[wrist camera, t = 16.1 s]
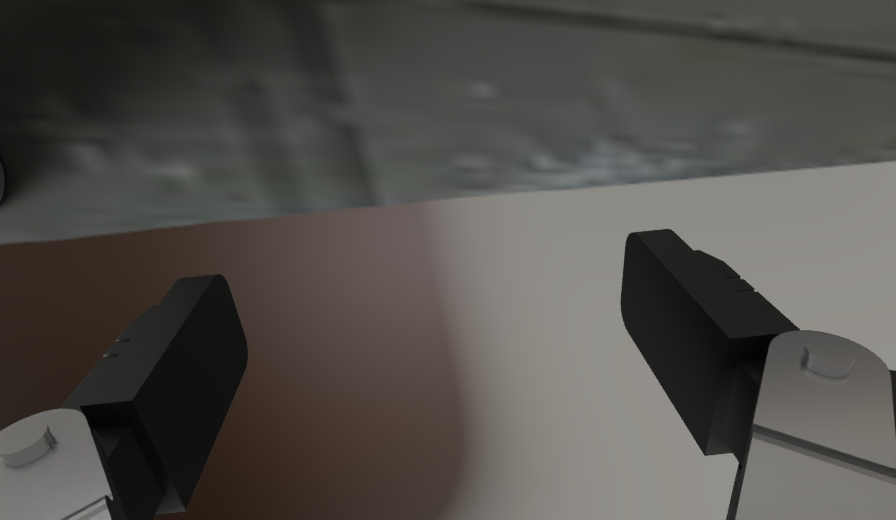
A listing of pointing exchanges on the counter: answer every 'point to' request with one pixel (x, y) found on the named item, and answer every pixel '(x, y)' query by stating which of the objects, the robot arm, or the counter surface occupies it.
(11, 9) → the counter surface
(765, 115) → the counter surface
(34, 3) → the counter surface
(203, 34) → the counter surface
